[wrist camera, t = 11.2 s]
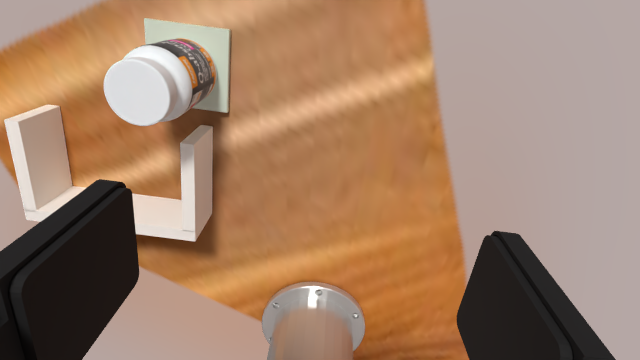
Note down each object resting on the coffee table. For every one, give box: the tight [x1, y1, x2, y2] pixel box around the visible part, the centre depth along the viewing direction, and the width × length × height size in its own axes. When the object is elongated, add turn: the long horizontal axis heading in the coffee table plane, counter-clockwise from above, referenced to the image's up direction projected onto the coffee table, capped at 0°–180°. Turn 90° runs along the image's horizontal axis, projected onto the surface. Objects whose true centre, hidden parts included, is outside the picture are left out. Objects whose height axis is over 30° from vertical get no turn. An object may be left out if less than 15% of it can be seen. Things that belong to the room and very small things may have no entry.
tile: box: [144, 18, 231, 113], centre depth 36 cm, size 8×8×1 cm
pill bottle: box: [104, 38, 217, 126], centre depth 31 cm, size 6×6×10 cm
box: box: [4, 105, 213, 241], centre depth 38 cm, size 10×16×6 cm, turn 83°
